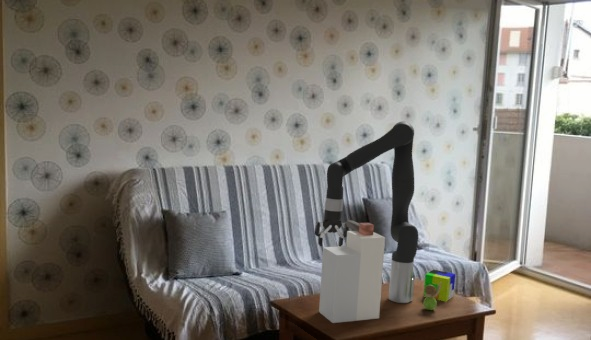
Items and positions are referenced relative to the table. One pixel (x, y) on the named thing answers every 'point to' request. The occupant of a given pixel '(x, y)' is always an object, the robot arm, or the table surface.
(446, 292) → the puzzle toy
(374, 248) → the step stand
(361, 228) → the marker bar
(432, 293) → the snail figurine
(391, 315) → the table surface
